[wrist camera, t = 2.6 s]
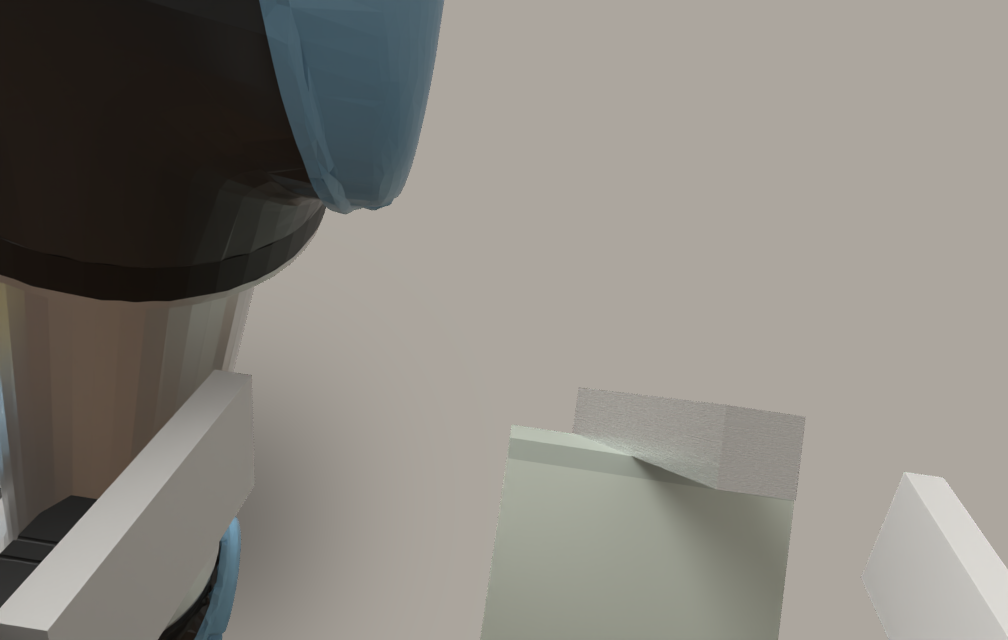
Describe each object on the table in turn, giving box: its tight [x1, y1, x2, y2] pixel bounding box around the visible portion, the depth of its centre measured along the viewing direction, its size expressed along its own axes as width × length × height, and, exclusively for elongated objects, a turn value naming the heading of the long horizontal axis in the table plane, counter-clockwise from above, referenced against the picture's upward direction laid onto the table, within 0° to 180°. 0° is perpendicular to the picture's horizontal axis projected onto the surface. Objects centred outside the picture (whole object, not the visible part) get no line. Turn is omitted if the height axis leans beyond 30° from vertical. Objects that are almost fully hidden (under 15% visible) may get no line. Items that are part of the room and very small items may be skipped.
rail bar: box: [573, 388, 805, 500], centre depth 40 cm, size 24×3×3 cm, turn 7°
